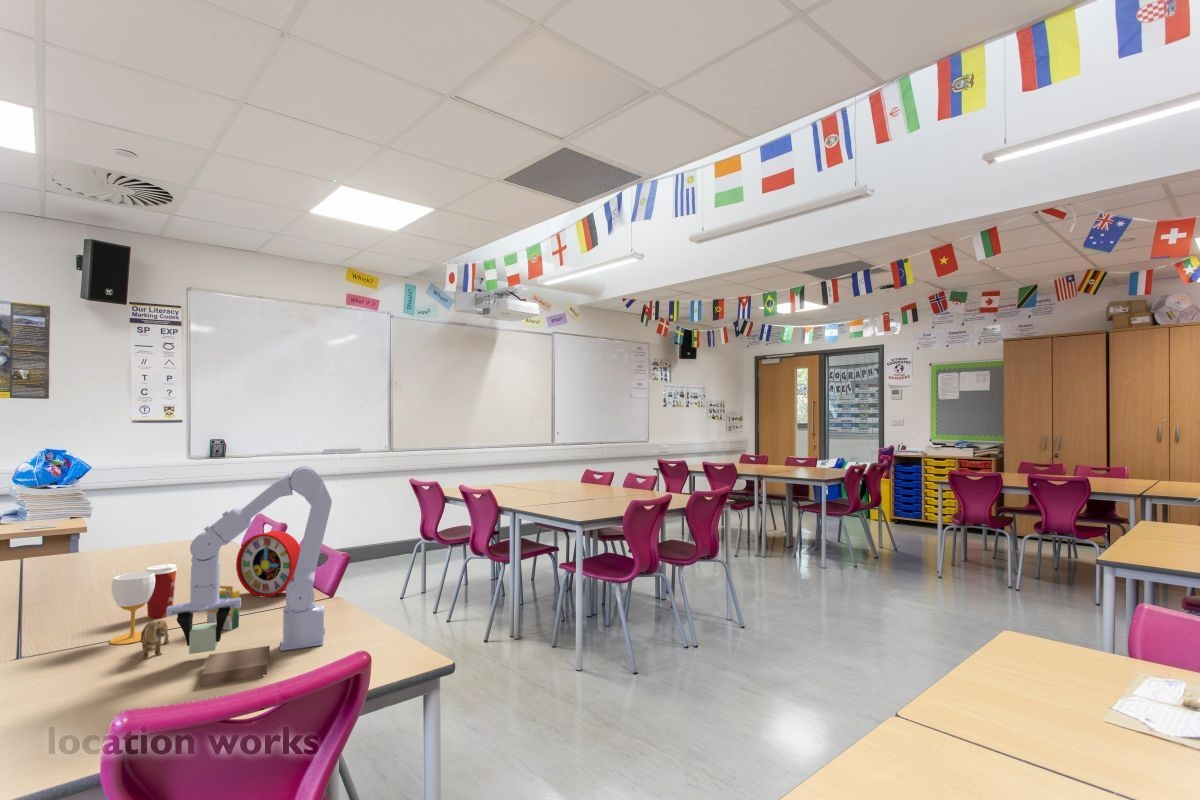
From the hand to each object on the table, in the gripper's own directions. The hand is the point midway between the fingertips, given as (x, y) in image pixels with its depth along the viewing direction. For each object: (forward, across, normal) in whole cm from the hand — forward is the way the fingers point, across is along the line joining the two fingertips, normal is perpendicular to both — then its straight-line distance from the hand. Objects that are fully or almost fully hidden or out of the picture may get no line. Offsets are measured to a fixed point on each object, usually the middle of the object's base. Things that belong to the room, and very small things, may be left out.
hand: (204, 642), depth 138 cm
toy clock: (+4, +10, +53) cm, 54 cm away
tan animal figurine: (+4, -11, +10) cm, 16 cm away
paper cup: (+4, -17, +43) cm, 46 cm away
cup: (+4, -19, +24) cm, 31 cm away
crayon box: (+4, +1, +23) cm, 23 cm away
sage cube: (+1, 0, 0) cm, 1 cm away
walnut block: (+4, +8, -11) cm, 14 cm away
